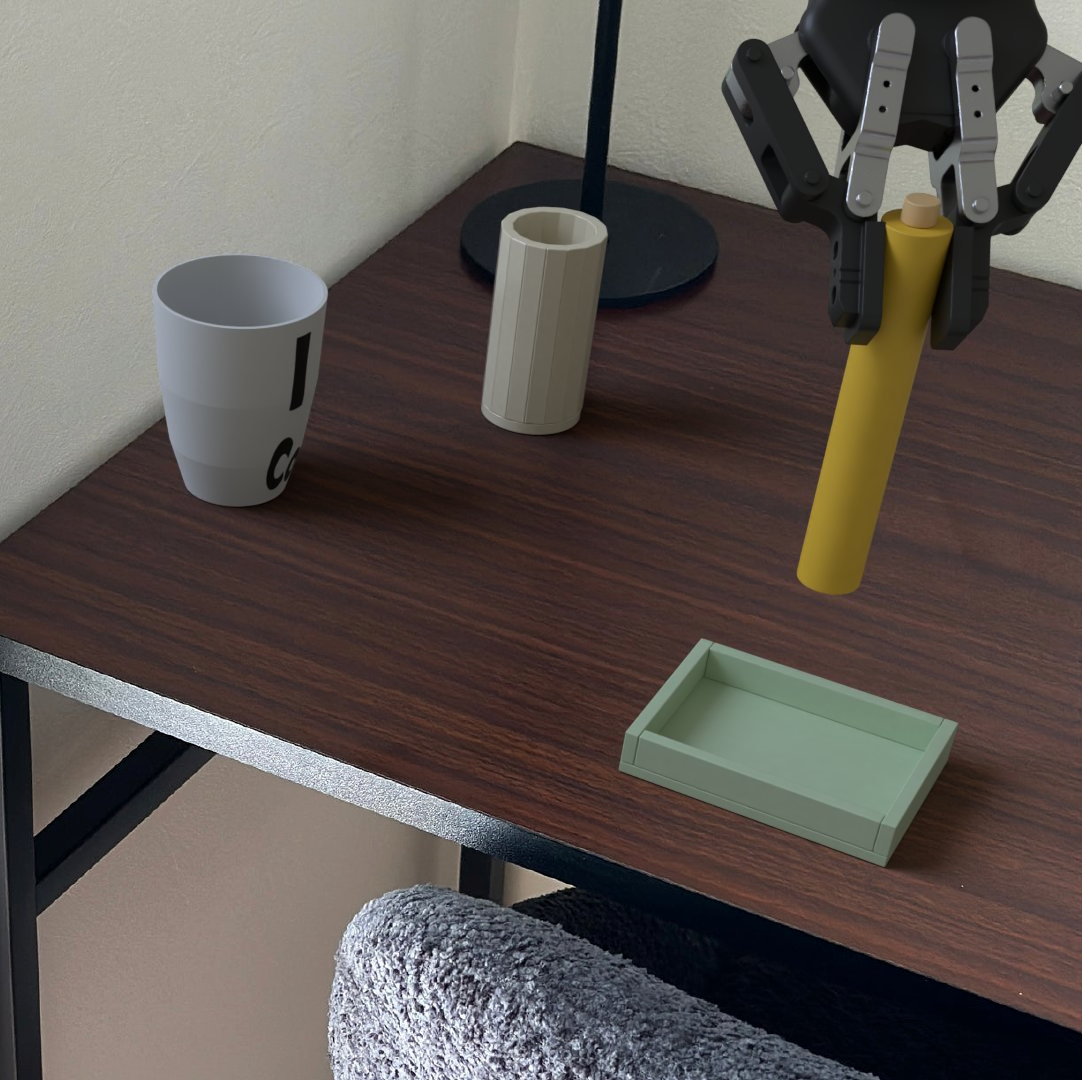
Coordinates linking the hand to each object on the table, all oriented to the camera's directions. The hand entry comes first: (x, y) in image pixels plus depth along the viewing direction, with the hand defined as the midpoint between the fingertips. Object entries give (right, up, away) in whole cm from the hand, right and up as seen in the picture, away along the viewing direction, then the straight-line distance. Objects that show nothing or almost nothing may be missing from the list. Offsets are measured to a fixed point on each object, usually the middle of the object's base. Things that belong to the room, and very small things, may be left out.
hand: (907, 338), depth 71 cm
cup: (-23, +1, +31) cm, 39 cm away
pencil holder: (-7, +6, +38) cm, 39 cm away
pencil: (0, -7, +9) cm, 11 cm away
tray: (0, -14, +14) cm, 20 cm away
